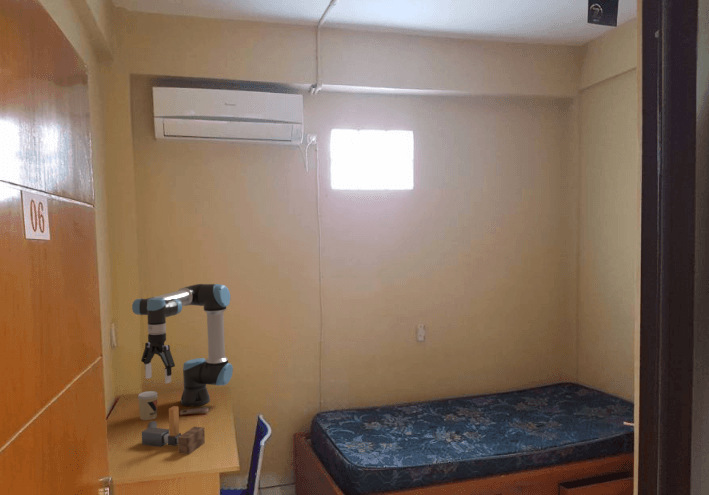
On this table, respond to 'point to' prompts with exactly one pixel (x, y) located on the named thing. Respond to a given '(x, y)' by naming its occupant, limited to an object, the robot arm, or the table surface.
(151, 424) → the half round rod
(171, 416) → the sliding bar
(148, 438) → the dark grey block
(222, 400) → the table surface
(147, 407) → the coffee cup
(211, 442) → the table surface
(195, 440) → the walnut socket
